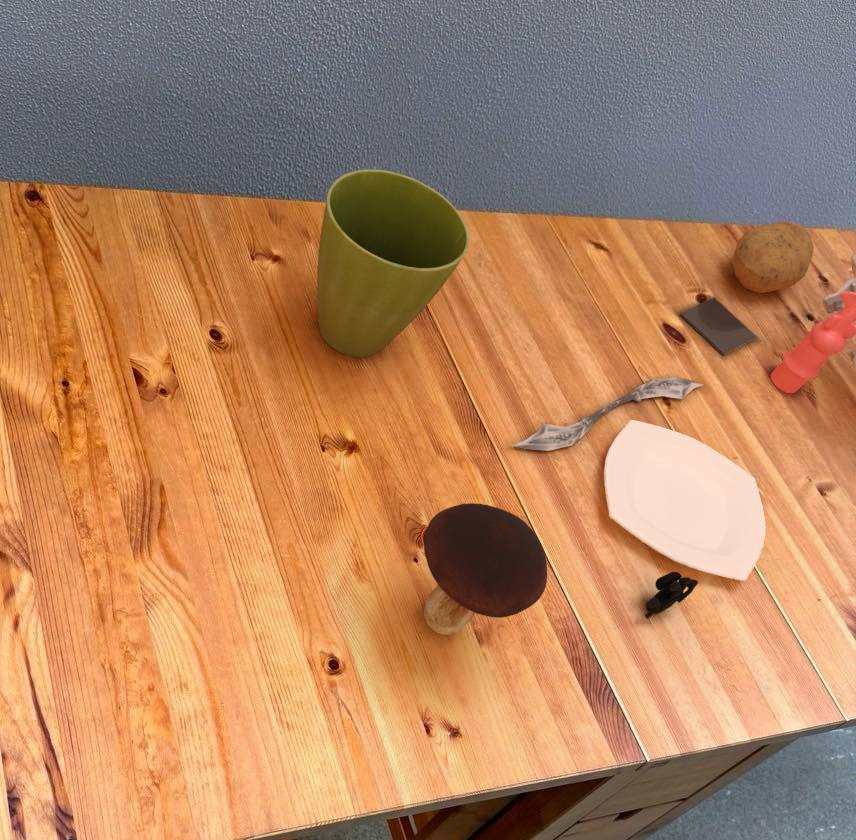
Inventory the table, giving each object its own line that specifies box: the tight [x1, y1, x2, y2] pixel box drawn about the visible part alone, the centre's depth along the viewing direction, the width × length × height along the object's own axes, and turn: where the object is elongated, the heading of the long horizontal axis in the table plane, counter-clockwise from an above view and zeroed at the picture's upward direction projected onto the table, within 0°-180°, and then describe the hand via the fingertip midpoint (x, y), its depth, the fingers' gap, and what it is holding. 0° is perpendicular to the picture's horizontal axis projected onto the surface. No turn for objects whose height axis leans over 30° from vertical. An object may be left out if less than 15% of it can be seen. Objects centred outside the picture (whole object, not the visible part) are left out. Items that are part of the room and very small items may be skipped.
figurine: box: [770, 291, 856, 394], centre depth 120 cm, size 5×5×15 cm
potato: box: [733, 221, 815, 294], centre depth 135 cm, size 10×14×8 cm
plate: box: [603, 419, 767, 582], centre depth 107 cm, size 19×19×2 cm
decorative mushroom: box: [423, 502, 548, 636], centre depth 84 cm, size 11×11×15 cm
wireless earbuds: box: [644, 571, 699, 619], centre depth 96 cm, size 7×2×5 cm, turn 121°
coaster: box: [679, 297, 758, 357], centre depth 129 cm, size 8×8×1 cm
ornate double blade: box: [511, 376, 704, 452], centre depth 113 cm, size 32×1×5 cm
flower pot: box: [316, 168, 470, 359], centre depth 103 cm, size 15×15×16 cm
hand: (838, 333), depth 119 cm, fingers open, 8 cm apart
